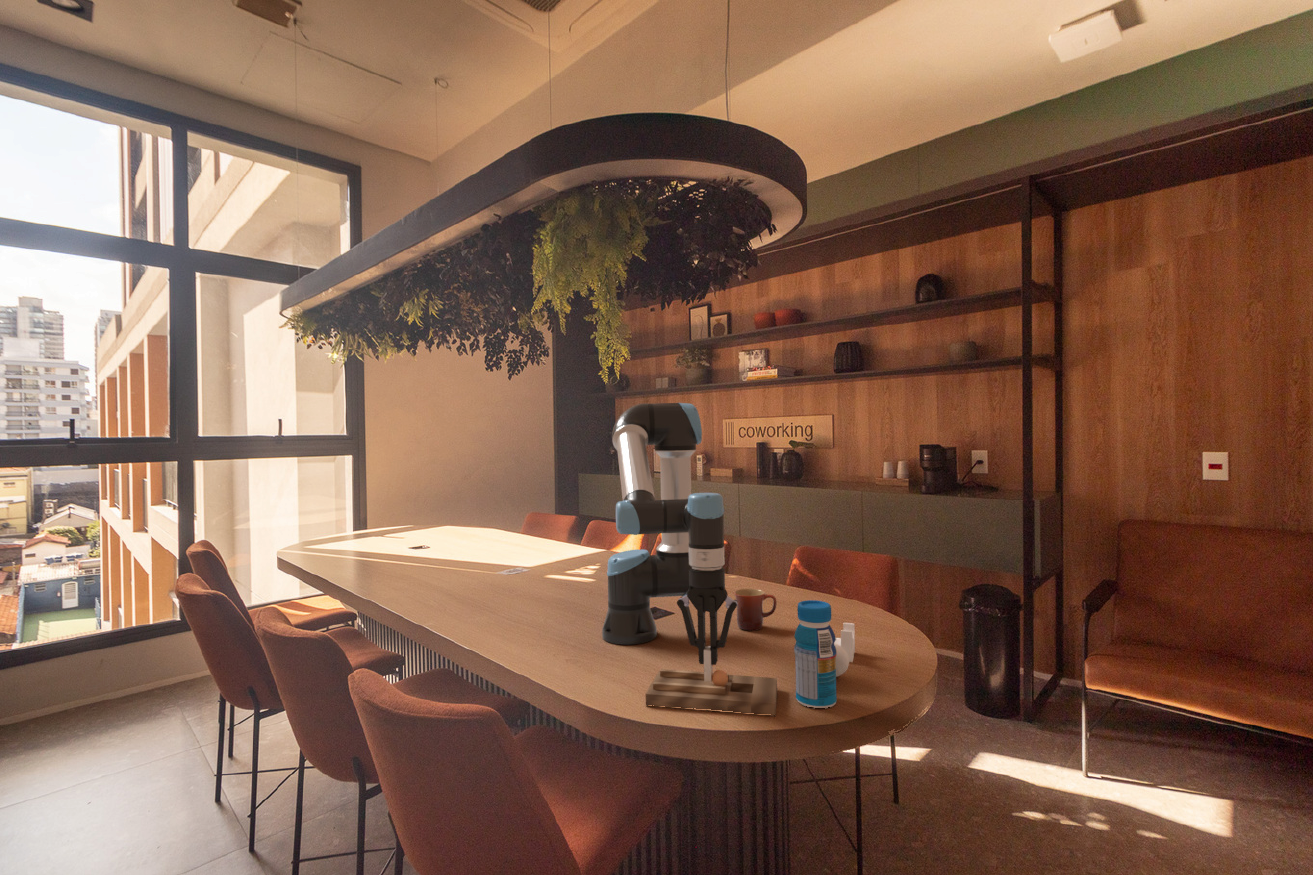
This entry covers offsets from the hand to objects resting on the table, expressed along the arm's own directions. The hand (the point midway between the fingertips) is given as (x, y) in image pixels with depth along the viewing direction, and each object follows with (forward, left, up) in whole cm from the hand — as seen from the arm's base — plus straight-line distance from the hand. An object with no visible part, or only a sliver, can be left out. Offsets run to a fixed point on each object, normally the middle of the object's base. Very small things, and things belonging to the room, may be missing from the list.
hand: (708, 679), depth 127 cm
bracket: (+26, +31, -4) cm, 40 cm away
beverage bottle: (+22, +2, -4) cm, 22 cm away
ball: (+2, 0, 0) cm, 2 cm away
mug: (+7, +49, -4) cm, 50 cm away
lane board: (+1, 0, -4) cm, 4 cm away
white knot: (+24, +14, -4) cm, 28 cm away
